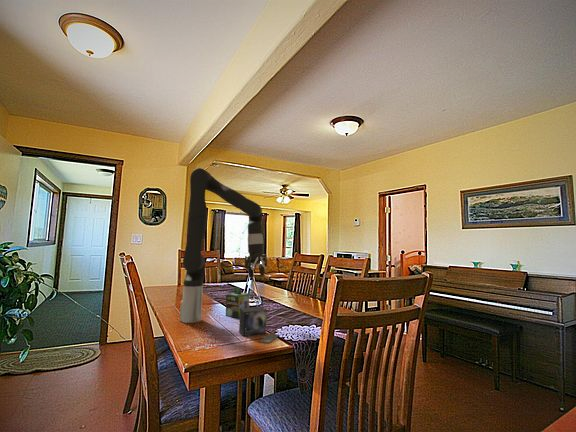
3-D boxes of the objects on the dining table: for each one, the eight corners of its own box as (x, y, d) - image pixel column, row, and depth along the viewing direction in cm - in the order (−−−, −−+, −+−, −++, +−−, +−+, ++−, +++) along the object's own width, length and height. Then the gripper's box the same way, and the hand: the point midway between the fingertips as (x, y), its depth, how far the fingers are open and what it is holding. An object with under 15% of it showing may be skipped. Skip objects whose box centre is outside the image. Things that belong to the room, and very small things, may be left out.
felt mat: (259, 342, 123) (259, 340, 123) (270, 334, 133) (270, 333, 133) (269, 343, 122) (269, 342, 122) (279, 335, 132) (279, 334, 132)
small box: (243, 337, 129) (244, 311, 130) (238, 332, 135) (239, 308, 135) (266, 334, 134) (267, 309, 134) (260, 330, 139) (261, 306, 140)
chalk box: (249, 315, 165) (250, 287, 166) (238, 318, 158) (239, 289, 159) (236, 312, 170) (237, 285, 171) (224, 315, 163) (226, 287, 164)
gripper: (258, 243, 160) (259, 274, 158) (240, 244, 148) (241, 278, 146) (270, 242, 156) (271, 274, 154) (252, 243, 144) (253, 278, 142)
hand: (256, 276), depth 150 cm, fingers open, 8 cm apart
